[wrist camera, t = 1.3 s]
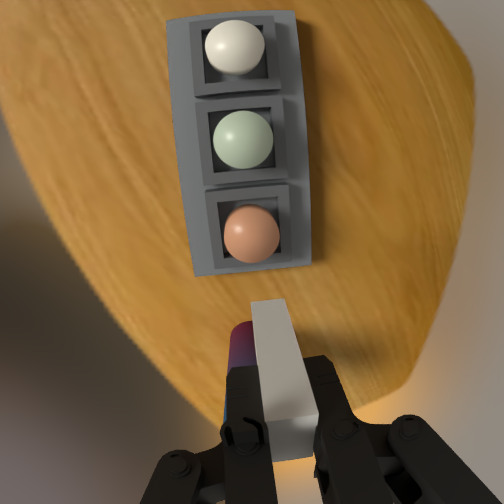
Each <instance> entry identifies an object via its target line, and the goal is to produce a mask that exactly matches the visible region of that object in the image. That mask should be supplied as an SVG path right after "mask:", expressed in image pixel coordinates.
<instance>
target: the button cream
mask: <svg viewBox="0 0 504 504" xmlns="http://www.w3.org/2000/svg"><path fill="white" fill-rule="evenodd" d="M264 46H265V43H264V38H263V36H262V34H261V32H260V31H259V30H258V29H257V28H256V27H255V26H254V25H252V24H250V23H248V22H245V21H241V20H230V21H225V22H223V23H220V24H218V25H217V26H215V27H214V28H213V29H212V30H211V31H210V32H209V34H208V36H207V38H206V41H205V50H206V54H207V57H208V60H209V62H210V64H211V66H212V67H213V68H214V69H215V70H216V71H218V72H220V73H222V74H224V75H228V76H240V75H244V74H246V73H248V72H250V71H252V70H253V69H254V68H255V67H256V66H257V65H258V63H259V61H260V59H261V57H262V54H263V51H264Z"/></svg>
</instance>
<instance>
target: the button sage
mask: <svg viewBox="0 0 504 504" xmlns="http://www.w3.org/2000/svg"><path fill="white" fill-rule="evenodd" d="M213 143H214V148H215V151H216V153H217V155H218V156H219V157H220V159H221V160H222V161H223V162H225V163H226V164H228V165H230V166H232V167H235V168H240V169H246V168H251V167H254V166H257V165H259V164H260V163H262V162H263V161H264V160H265V159H266V158H267V157H268V155H269V153H270V152H271V149H272V146H273V133H272V130H271V128H270V126H269V124H268V123H267V121H266V120H265V119H264V118H263V117H261V116H260V115H258V114H256V113H254V112H250V111H237V112H233V113H231V114H229V115H227V116H226V117H224V118H223V119H222V120H221V121H220V122H219V124H218V125H217V127H216V129H215V132H214V137H213Z"/></svg>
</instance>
